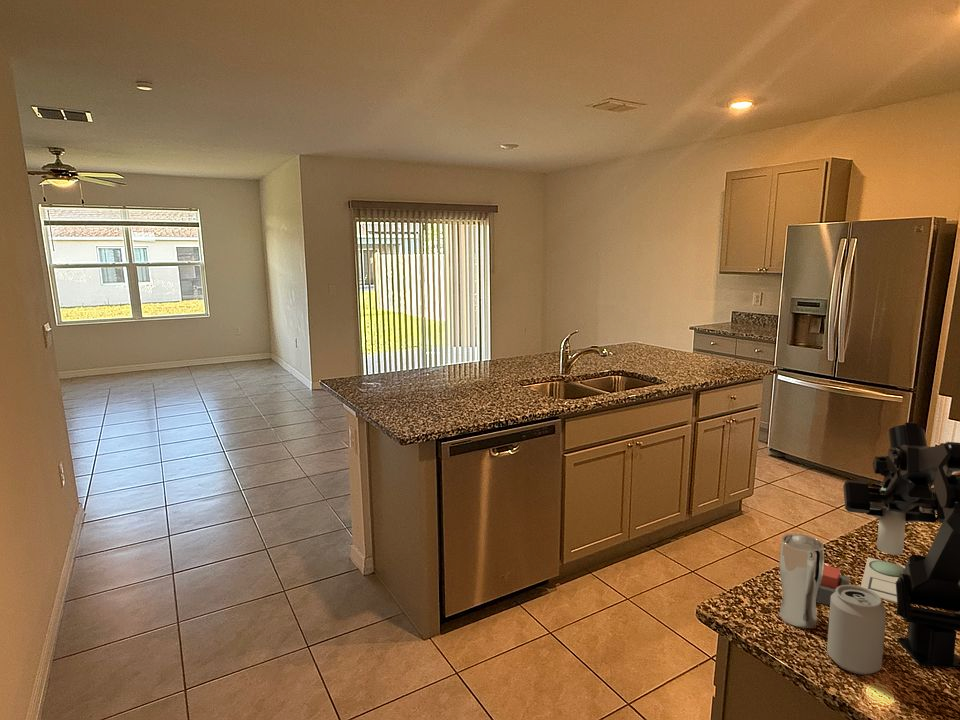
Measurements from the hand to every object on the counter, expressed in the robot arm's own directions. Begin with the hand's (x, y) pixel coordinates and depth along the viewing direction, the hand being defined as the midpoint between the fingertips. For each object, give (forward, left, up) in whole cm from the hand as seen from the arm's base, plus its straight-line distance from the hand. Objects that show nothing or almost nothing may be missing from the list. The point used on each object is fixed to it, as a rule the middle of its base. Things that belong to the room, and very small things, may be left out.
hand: (890, 517), depth 118 cm
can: (-32, +21, -11) cm, 40 cm away
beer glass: (-20, +25, -11) cm, 34 cm away
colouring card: (-6, +3, -11) cm, 13 cm away
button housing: (-12, +17, -11) cm, 24 cm away
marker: (-1, 0, -7) cm, 7 cm away
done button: (-12, +17, -9) cm, 23 cm away
